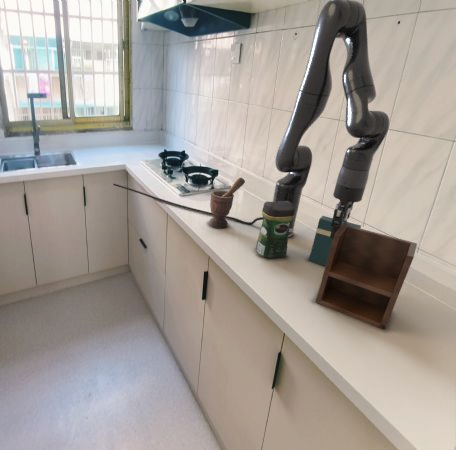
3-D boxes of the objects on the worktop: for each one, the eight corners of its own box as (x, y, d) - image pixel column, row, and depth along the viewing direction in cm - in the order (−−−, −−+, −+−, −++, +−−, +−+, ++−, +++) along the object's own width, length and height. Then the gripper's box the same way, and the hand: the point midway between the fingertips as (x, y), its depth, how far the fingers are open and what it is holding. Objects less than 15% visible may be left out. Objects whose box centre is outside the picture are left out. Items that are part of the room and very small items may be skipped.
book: (308, 260, 111) (319, 218, 105) (311, 256, 113) (322, 215, 107) (345, 273, 104) (359, 229, 98) (348, 268, 107) (361, 225, 101)
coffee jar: (277, 247, 119) (287, 197, 111) (289, 258, 112) (301, 205, 104) (251, 248, 117) (260, 198, 109) (262, 260, 110) (272, 206, 102)
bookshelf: (315, 302, 90) (334, 234, 82) (324, 287, 96) (343, 224, 88) (384, 329, 81) (413, 257, 73) (389, 312, 87) (417, 243, 79)
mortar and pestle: (231, 219, 140) (237, 172, 132) (240, 228, 132) (247, 179, 124) (204, 221, 138) (210, 173, 130) (212, 229, 130) (218, 179, 122)
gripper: (343, 175, 105) (329, 225, 112) (330, 185, 95) (316, 239, 102) (370, 180, 101) (354, 232, 108) (360, 191, 91) (343, 247, 97)
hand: (336, 235), depth 105 cm, fingers open, 5 cm apart
